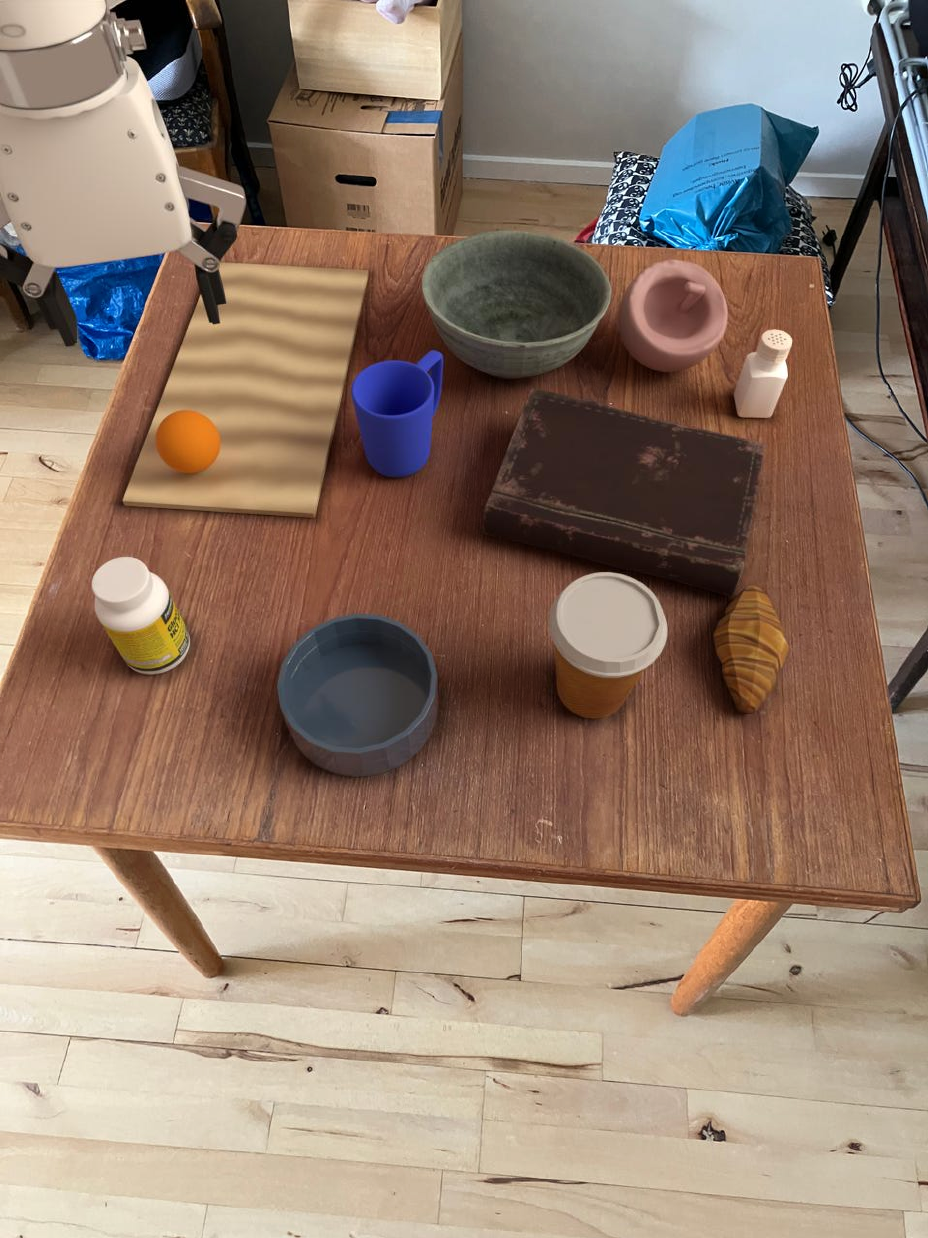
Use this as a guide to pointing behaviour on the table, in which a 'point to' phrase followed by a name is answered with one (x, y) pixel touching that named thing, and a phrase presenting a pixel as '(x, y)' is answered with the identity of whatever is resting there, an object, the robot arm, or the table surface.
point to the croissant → (750, 648)
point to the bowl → (515, 301)
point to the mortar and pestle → (672, 315)
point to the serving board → (259, 391)
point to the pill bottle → (139, 616)
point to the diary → (627, 491)
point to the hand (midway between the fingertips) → (143, 322)
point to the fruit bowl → (359, 694)
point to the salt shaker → (763, 376)
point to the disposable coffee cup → (604, 640)
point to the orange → (188, 441)
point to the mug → (398, 412)
